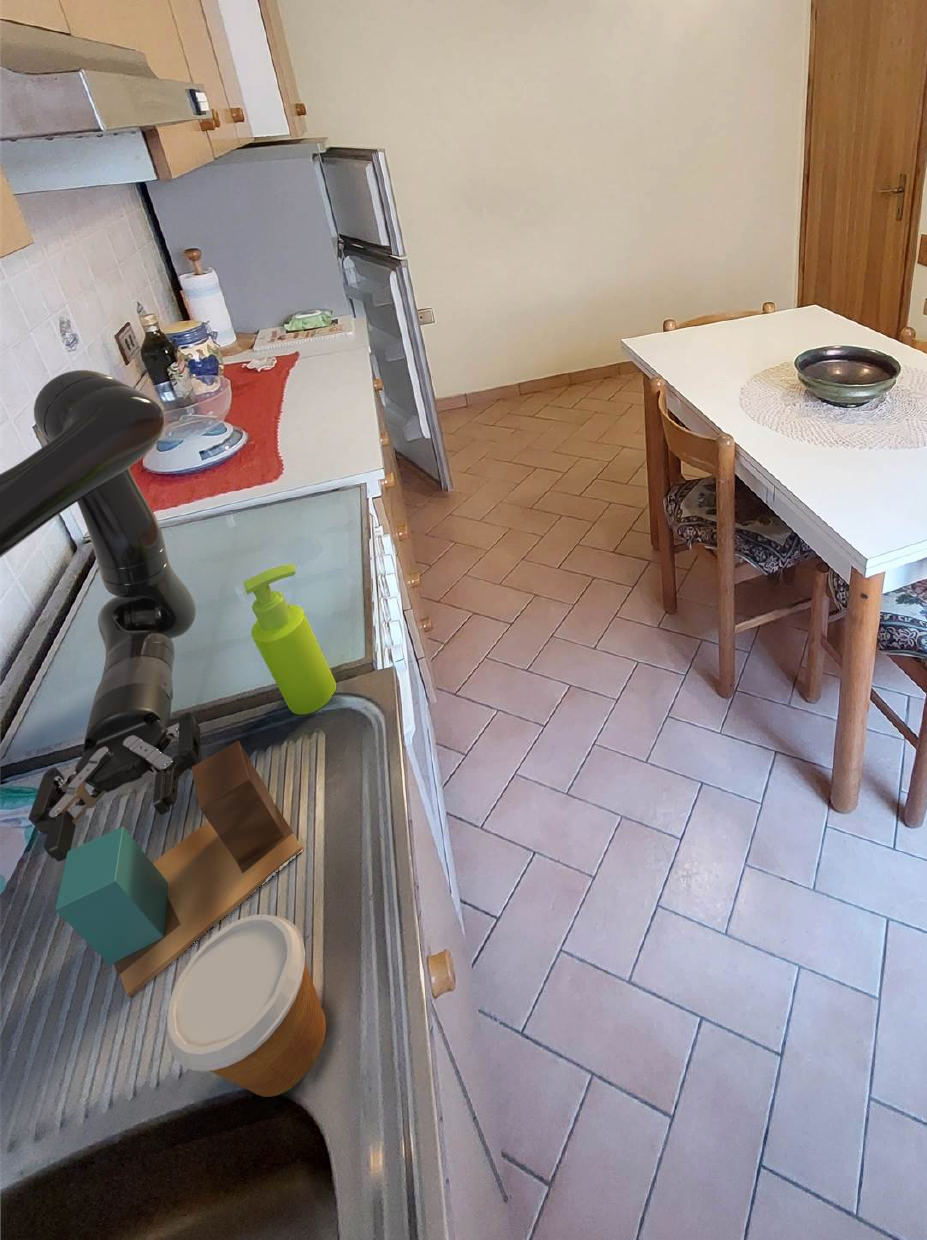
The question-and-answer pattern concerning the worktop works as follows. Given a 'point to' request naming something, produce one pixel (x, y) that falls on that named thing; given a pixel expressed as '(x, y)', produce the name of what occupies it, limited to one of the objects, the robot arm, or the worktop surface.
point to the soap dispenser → (289, 645)
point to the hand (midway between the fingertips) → (111, 831)
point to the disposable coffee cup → (248, 1007)
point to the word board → (201, 895)
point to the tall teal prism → (113, 895)
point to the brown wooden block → (236, 802)
